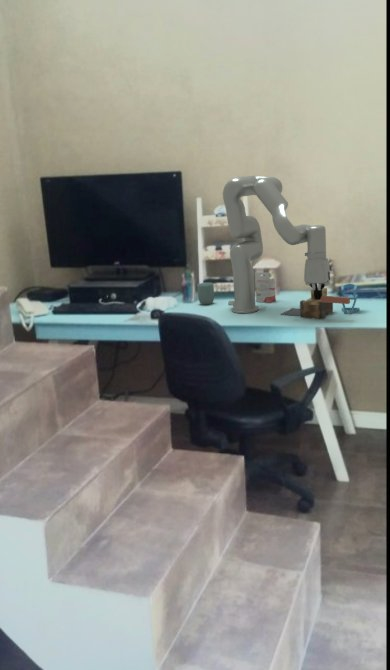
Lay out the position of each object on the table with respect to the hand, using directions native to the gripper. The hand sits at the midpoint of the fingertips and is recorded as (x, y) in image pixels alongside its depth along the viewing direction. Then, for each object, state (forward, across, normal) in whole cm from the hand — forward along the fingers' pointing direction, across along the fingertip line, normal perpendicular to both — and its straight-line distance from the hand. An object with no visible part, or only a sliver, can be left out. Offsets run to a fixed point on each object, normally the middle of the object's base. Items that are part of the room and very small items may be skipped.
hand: (318, 298), depth 271 cm
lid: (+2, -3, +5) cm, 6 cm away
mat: (+8, -13, +6) cm, 17 cm away
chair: (+8, +8, +14) cm, 19 cm away
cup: (+8, -64, +10) cm, 65 cm away
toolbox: (+8, -3, +5) cm, 10 cm away
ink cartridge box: (+8, -38, +23) cm, 45 cm away
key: (+1, +8, 0) cm, 8 cm away
